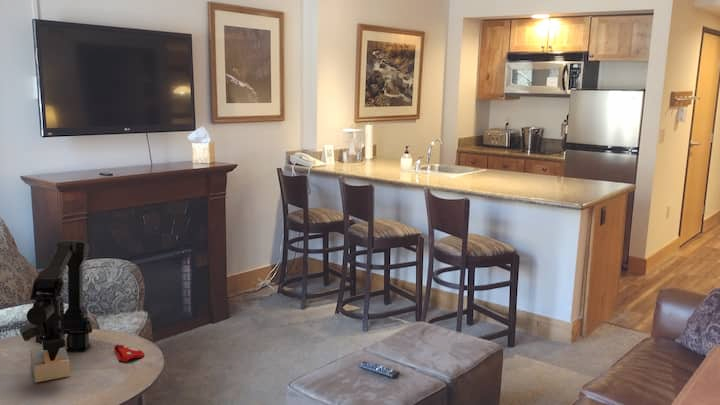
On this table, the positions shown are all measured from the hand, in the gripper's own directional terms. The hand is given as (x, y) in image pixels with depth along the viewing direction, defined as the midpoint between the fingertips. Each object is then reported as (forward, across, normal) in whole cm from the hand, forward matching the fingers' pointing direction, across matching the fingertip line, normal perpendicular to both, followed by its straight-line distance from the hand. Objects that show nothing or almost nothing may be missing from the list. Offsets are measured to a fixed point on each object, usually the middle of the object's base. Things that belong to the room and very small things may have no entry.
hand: (52, 359), depth 194 cm
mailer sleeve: (+7, -8, 0) cm, 10 cm away
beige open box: (+7, -7, 0) cm, 9 cm away
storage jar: (+7, -35, +3) cm, 36 cm away
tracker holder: (+8, -8, +25) cm, 27 cm away
